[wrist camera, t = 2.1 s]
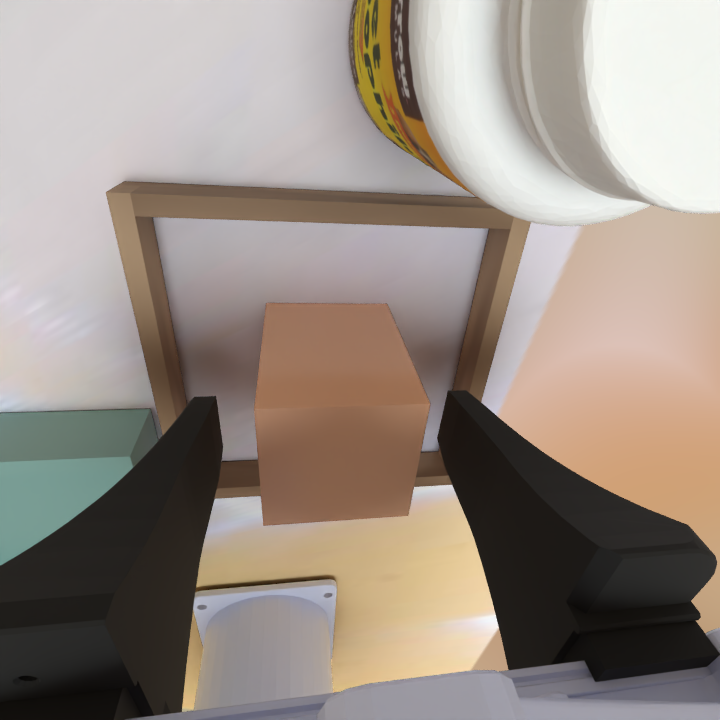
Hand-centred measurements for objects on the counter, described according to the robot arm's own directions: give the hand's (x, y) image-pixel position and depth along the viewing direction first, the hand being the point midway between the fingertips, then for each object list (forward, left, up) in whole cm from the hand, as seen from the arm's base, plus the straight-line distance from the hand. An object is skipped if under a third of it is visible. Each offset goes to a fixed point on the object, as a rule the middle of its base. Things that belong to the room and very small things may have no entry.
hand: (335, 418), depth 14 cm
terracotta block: (0, 0, -4) cm, 4 cm away
